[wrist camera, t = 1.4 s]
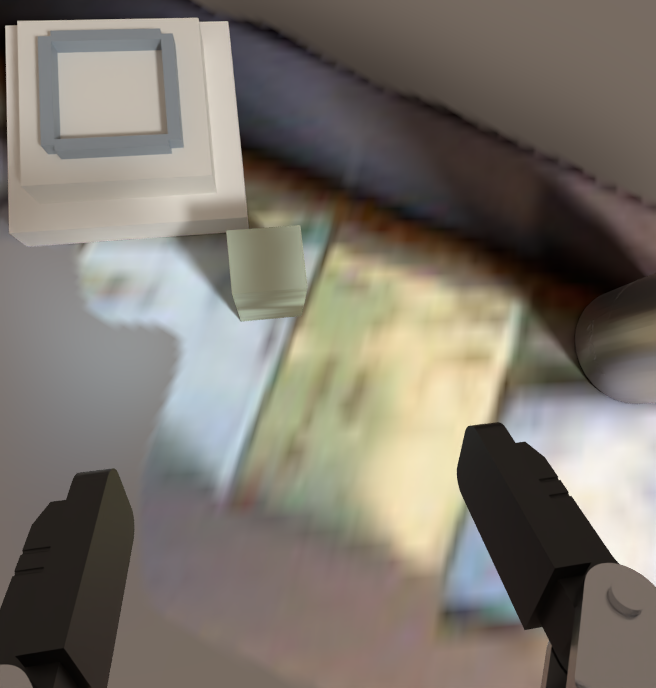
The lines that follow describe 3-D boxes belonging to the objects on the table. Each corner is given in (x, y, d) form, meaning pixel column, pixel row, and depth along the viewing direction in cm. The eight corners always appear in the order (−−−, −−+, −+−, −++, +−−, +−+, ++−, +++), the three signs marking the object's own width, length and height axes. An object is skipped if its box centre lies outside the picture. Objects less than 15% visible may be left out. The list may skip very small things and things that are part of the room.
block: (295, 265, 37) (300, 225, 30) (301, 315, 37) (307, 287, 29) (236, 270, 37) (226, 230, 29) (241, 321, 36) (232, 294, 29)
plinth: (230, 46, 40) (223, -20, 34) (249, 230, 37) (244, 194, 31) (22, 51, 38) (-24, -18, 32) (27, 246, 35) (-23, 210, 30)
